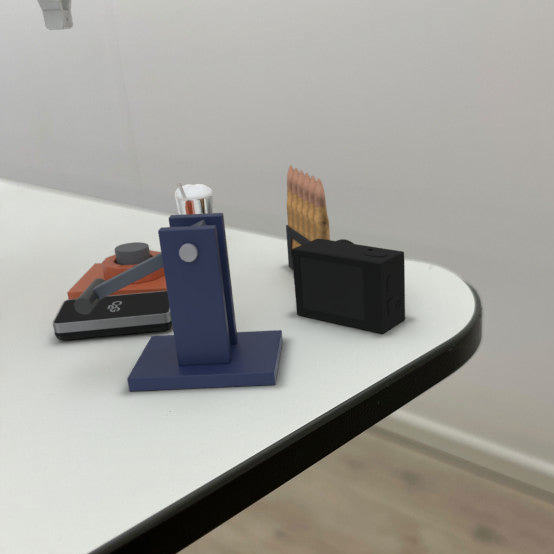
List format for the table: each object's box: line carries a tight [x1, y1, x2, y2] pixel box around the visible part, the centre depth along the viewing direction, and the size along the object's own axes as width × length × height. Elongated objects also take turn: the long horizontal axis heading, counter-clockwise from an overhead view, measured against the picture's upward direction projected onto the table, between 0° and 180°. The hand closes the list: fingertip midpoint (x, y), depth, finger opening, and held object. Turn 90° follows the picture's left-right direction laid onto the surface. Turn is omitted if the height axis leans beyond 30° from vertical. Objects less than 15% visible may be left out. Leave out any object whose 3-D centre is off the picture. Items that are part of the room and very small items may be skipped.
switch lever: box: [74, 220, 207, 314], centre depth 63 cm, size 12×5×2 cm, turn 91°
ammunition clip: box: [285, 165, 331, 271], centre depth 85 cm, size 11×2×12 cm, turn 24°
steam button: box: [114, 241, 151, 265], centre depth 83 cm, size 4×4×2 cm
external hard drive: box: [52, 291, 173, 341], centre depth 76 cm, size 7×11×2 cm, turn 100°
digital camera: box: [292, 238, 406, 335], centre depth 75 cm, size 10×5×7 cm, turn 56°
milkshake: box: [174, 182, 214, 215], centre depth 94 cm, size 4×5×10 cm
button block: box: [66, 249, 167, 300], centre depth 84 cm, size 12×10×4 cm
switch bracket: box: [126, 212, 284, 392], centre depth 64 cm, size 12×9×13 cm
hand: (60, 29), depth 75 cm, fingers closed
